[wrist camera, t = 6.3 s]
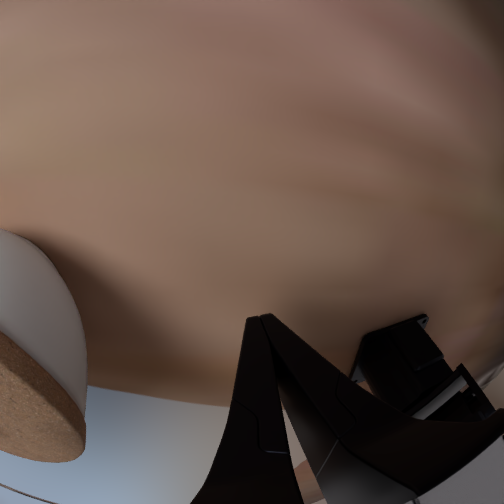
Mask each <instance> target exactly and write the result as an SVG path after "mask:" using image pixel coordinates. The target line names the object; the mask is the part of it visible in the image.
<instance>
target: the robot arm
mask: <svg viewBox="0 0 504 504" xmlns="http://www.w3.org/2000/svg"><path fill="white" fill-rule="evenodd" d="M428 319H429V317H428V316H427V315H426V314H422V315H419V316H417V317H414V318H412V319H409V320H406V321H403V322H401V323H398V324H395V325H392V326H389V327H386V328H383V329H380V330H377V331H374V332H371V333H369V334H367V335H365V336H364V337H363V339H362V342H361V345H360V348H359V351H358V354H357V357H356V359H355V362H354V365H353V368H352V371H351V373H350V376H349V378H348V377H347V376H346V375H345V374H344V373H342V372H341V373H340V370H339V369H337V368H336V367H335V366H334V365H332V364H331V363H330V362H329V361H328V360H326V359H325V358H324V357H323V356H322V355H320V354H319V353H318V352H317V351H316V350H314V349H313V348H312V347H311V346H310V345H308V344H307V343H306V342H305V341H304V340H302V339H301V338H300V337H299V336H298V335H296V334H295V333H294V332H293V331H292V330H291V329H289V328H288V327H287V326H286V325H285V324H284V323H282V322H281V321H280V320H279V319H278V318H276V317H275V316H274V315H273V314H271V313H268V314H263V315H260V316H253V317H248V318H247V319H246V323H245V329H244V334H243V340H242V345H241V351H240V357H239V362H238V368H237V373H236V379H235V384H234V390H233V395H232V400H231V405H230V410H229V415H228V419H227V424H226V427H225V430H224V433H223V436H222V439H221V442H220V445H219V448H218V450H217V453H216V456H215V458H214V461H213V464H212V467H211V469H210V472H209V474H208V476H207V478H206V480H205V482H204V484H203V486H202V488H201V489H200V491H199V492H198V493H197V495H196V496H195V498H194V499H193V500H192V502H191V503H190V504H304V502H303V499H302V496H301V492H300V489H299V486H298V483H297V480H296V477H295V473H294V469H293V465H292V461H291V456H290V450H289V444H288V439H287V433H286V428H285V422H284V417H283V411H282V406H281V401H282V403H283V406H284V408H285V410H286V413H287V415H288V417H289V419H290V422H291V424H292V426H293V429H294V431H295V433H296V435H297V438H298V440H299V442H300V444H301V447H302V449H303V451H304V453H305V455H306V458H307V460H308V462H309V465H310V467H311V469H312V471H313V473H314V476H315V478H316V480H317V482H318V484H319V487H320V489H321V491H322V493H323V495H324V497H325V499H326V501H327V504H504V435H503V436H501V435H502V434H504V409H503V408H499V409H498V410H495V409H494V407H493V406H492V404H491V403H490V402H489V400H488V398H487V397H486V396H485V394H484V393H483V391H482V390H481V388H480V387H479V386H478V384H477V383H476V382H475V380H474V379H473V377H472V376H471V375H470V373H469V372H468V371H467V369H466V368H465V367H464V365H463V364H462V363H461V364H460V365H459V366H458V367H456V370H455V371H454V372H453V371H452V370H451V368H450V367H449V366H448V364H447V363H446V361H445V360H444V359H443V358H444V355H443V353H442V352H441V351H440V349H439V348H438V347H437V345H436V344H435V343H434V342H433V340H432V339H431V338H430V337H429V335H428V334H427V333H426V332H425V330H424V328H425V326H426V324H427V322H428ZM365 380H366V382H367V384H368V385H369V387H370V389H371V391H372V393H373V394H374V395H372V394H371V393H369V392H368V391H366V390H365V389H363V388H362V387H360V386H359V385H358V384H357V383H360V382H363V381H365ZM466 384H468V385H469V387H468V388H467V389H466V390H465V391H464V392H463V393H462V392H460V391H459V390H460V389H461V388H462V387H464V386H465V385H466ZM280 399H281V401H280Z"/></svg>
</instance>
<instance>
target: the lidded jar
mask: <svg viewBox="0 0 504 504" xmlns="http://www.w3.org/2000/svg"><path fill="white" fill-rule="evenodd" d="M87 384H88V361H87V348H86V339H85V334H84V329H83V325H82V321H81V317H80V314H79V311H78V309H77V306H76V304H75V302H74V299H73V297H72V294H71V292H70V290H69V289H68V287H67V285H66V283H65V282H64V280H63V279H62V277H61V276H60V275H59V273H58V271H57V269H56V267H55V266H54V265H53V263H52V262H51V260H50V259H49V258H48V257H47V256H46V254H45V253H44V252H43V251H42V250H40V249H39V248H38V247H37V246H36V245H34V244H33V243H32V242H30V241H29V240H27V239H25V238H23V237H21V236H18V235H16V234H14V233H12V232H10V231H7V230H5V229H2V228H0V450H2V451H4V452H7V453H10V454H13V455H16V456H19V457H22V458H27V459H30V460H35V461H42V462H56V463H59V462H68V461H71V460H75V459H76V458H78V457H79V456H80V455H81V454H82V453H83V452H84V450H85V443H86V423H85V420H84V417H85V409H86V395H87Z"/></svg>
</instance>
